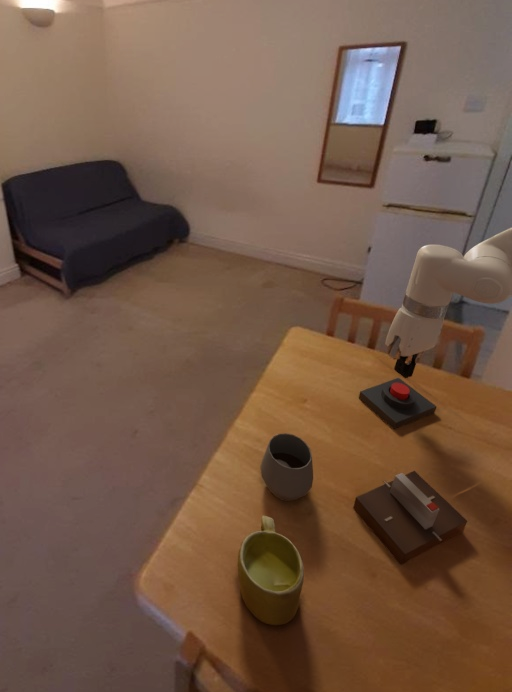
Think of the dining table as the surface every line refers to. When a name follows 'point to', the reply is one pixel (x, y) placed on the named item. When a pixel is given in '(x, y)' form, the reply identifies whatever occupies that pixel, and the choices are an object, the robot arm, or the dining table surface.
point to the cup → (287, 467)
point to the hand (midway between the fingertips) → (402, 373)
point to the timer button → (399, 391)
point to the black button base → (396, 404)
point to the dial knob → (414, 501)
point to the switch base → (407, 520)
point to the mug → (270, 575)
